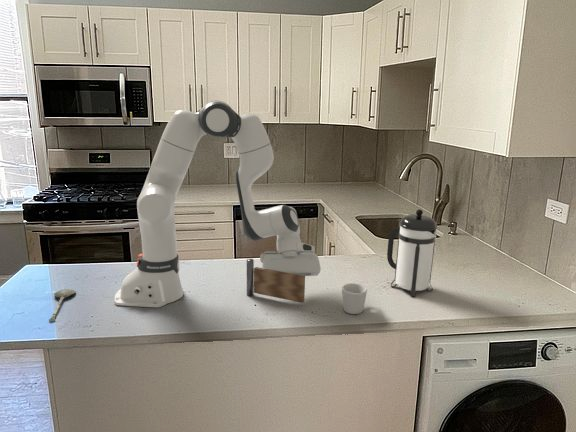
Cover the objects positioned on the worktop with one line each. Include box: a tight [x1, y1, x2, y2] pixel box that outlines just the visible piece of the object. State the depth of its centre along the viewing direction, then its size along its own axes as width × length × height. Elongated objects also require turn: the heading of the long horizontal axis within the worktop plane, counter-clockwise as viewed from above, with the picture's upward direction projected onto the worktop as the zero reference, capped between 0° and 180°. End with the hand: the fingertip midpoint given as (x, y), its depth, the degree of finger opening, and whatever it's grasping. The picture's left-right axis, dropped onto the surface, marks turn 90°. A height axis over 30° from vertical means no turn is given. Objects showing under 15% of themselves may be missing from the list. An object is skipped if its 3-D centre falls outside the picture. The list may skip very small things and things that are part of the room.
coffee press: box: [386, 209, 438, 298], centre depth 157 cm, size 17×16×30 cm
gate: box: [254, 266, 306, 304], centre depth 146 cm, size 18×2×9 cm, turn 67°
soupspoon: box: [48, 288, 77, 323], centre depth 141 cm, size 22×3×7 cm
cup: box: [341, 282, 368, 315], centre depth 142 cm, size 11×8×8 cm
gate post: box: [246, 258, 255, 297], centre depth 150 cm, size 2×2×13 cm
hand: (292, 288), depth 147 cm, fingers closed
